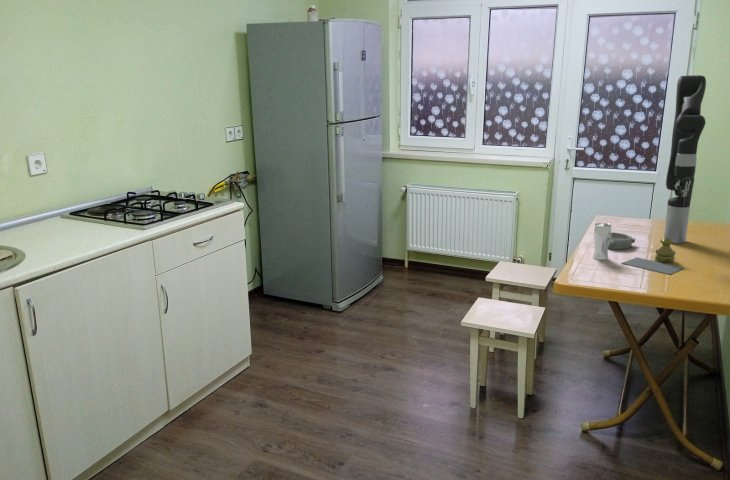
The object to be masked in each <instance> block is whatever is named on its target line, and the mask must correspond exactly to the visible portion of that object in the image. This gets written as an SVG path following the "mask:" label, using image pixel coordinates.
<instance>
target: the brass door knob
mask: <svg viewBox="0 0 730 480" xmlns="http://www.w3.org/2000/svg"><path fill="white" fill-rule="evenodd" d="M659 242H660V243H661V244H662V246H660V247H659V248H657V249H656V250H655V257H654V261H656V262H660V263H665V264H669V265H671V264H673V263H675V260H676V259H675V258H676V256H675V255H676V251H675V250H673V248H671V245H672V244H674V243H673V241H672V240H671V239H669V238H665V239H664V238H661V239H660V240H659Z"/></svg>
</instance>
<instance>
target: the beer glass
mask: <svg viewBox="0 0 730 480" xmlns="http://www.w3.org/2000/svg"><path fill="white" fill-rule="evenodd" d="M611 232H612V224H611V223H607V222H596V223H595V224H594V229H593V244H594V253H593V255H592V258H593V259H594V260H597V261H607V260H609V254H608V253H609V248H608V247H609V243H610V240H611Z"/></svg>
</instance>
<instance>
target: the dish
mask: <svg viewBox="0 0 730 480" xmlns="http://www.w3.org/2000/svg"><path fill="white" fill-rule="evenodd" d="M635 242H636V238H633V236H629V235H628V234H627V233H622V232H616V231H615V232H614V231H613V232H612V231H611V240H610V243H609V247H608V249H610V250H611V249H612V250H625V249H629V248H631V247H632V245H633V244H634V243H635Z"/></svg>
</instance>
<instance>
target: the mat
mask: <svg viewBox="0 0 730 480" xmlns="http://www.w3.org/2000/svg"><path fill="white" fill-rule="evenodd" d="M621 265H625V266H626V265H627V266H630V267H636V268H639V269H643V270H646V271H651V272H652V271H653V272H655V271H656V273H660V274H664V273H665V275H668V274H669V275H670V274H671V275H672V274H675V273H677V271H678V272H680V271H682V270H685V267H684V266H683V267H682V266H678V265H673V264H666V263H660V262H657V261H655V260H650V259H645V258H641V257H638V256H637V257H636V256H635V257H634V258H631V259H629V260H626V261H623V262H621Z"/></svg>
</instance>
